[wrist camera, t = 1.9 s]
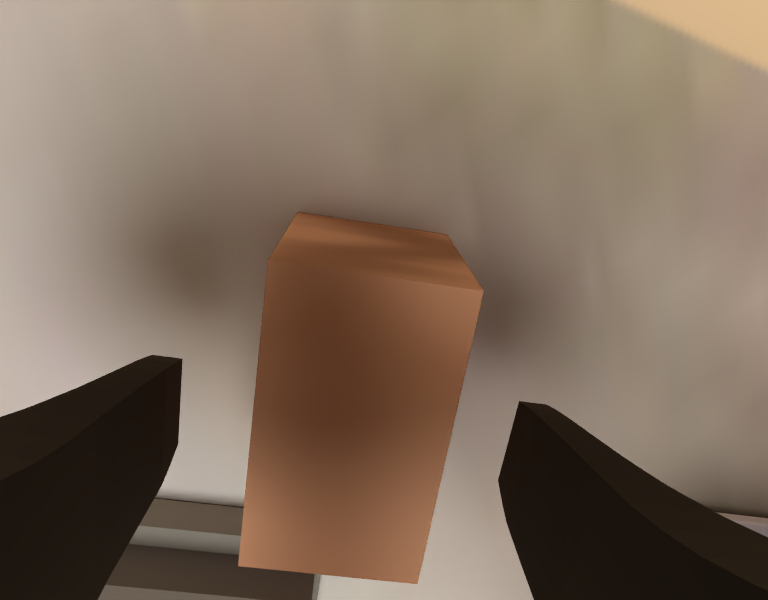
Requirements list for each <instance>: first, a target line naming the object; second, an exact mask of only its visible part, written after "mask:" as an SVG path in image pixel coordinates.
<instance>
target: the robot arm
mask: <svg viewBox="0 0 768 600" xmlns="http://www.w3.org/2000/svg"><path fill="white" fill-rule="evenodd" d="M181 375H182V359H180V358H172V357H164V356H156V355H151V356H148V357H145V358H142V359H140V360H138V361H135V362H133V363H131V364H129V365H126V366H124V367H122V368H120V369H118V370H115V371H113V372H111V373H109V374H107V375H105V376H102V377H100V378H98V379H96V380H94V381H91V382H89V383H87V384H85V385H83V386H80V387H78V388H76V389H73V390H71V391H68V392H66V393H63V394H61V395H58V396H56V397H53V398H51V399H49V400H46V401H44V402H41V403H39V404H36V405H34V406H31V407H28V408H26V409H23V410H20V411H17V412H14V413H11V414H8V415H5V416H2V417H0V600H98V598H99V596H100V594H101V592H102V590H103V589H104V587H105V585H106V583H107V581H108V579H109V577H110V575H111V573H112V572H113V570H114V568H115V567H116V565H117V563H118V561H119V560H120V558H121V556H122V554H123V553H124V551H125V549H126V547H127V546H128V544H129V542H130V540H131V539H132V537H133V535H134V533H135V532H136V530H137V528H138V526H139V525H140V523H141V521H142V519H143V518H144V516H145V514H146V512H147V511H148V509H149V507H150V505H151V503H152V502H153V500H154V498H155V496H156V495H157V493H158V491H159V489H160V487H161V485H162V483H163V481H164V478H165V476H166V474H167V471H168V469H169V466H170V464H171V461H172V458H173V456H174V453H175V451H176V448H177V445H178V435H179V415H180V395H181ZM498 482H499V487H500V493H501V498H502V503H503V508H504V513H505V517H506V522H507V525H508V528H509V531H510V534H511V537H512V539H513V542H514V545H515V548H516V551H517V554H518V557H519V559H520V562H521V565H522V568H523V570H524V573H525V576H526V579H527V582H528V584H529V587H530V590H531V593H532V595H533V598H534V600H768V518H761V517H752V516H744V515H735V514H726V513H717V512H714V511H712V510H710V509H708V508H706V507H705V506H703V505H701V504H699V503H697V502H696V501H694V500H692V499H690V498H688V497H687V496H685V495H683V494H681V493H679V492H677V491H676V490H674V489H672V488H671V487H669V486H667V485H666V484H664V483H662V482H661V481H659V480H658V479H656V478H655V477H653V476H651V475H650V474H648V473H647V472H645V471H644V470H642V469H641V468H639V467H637V466H636V465H634V464H633V463H631V462H630V461H629V460H627V459H626V458H624V457H623V456H621V455H620V454H618V453H617V452H615V451H614V450H613V449H611V448H610V447H608V446H607V445H605V444H604V443H603V442H601V441H600V440H598V439H597V438H596V437H594V436H593V435H592V434H590V433H589V432H587V431H586V430H585V429H583V428H582V427H580V426H579V425H578V424H576V423H575V422H573V421H572V420H570V419H569V418H568V417H566V416H565V415H563V414H562V413H560V412H559V411H557V410H555V409H554V408H552V407H550V406H548V405H545V404H537V403H529V402H521V401H519V404H518V408H517V412H516V415H515V419H514V423H513V427H512V430H511V434H510V438H509V442H508V445H507V449H506V453H505V457H504V460H503V464H502V468H501V472H500V475H499V479H498Z"/></svg>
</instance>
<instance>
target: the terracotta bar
mask: <svg viewBox="0 0 768 600" xmlns="http://www.w3.org/2000/svg"><path fill="white" fill-rule="evenodd" d="M483 293H484V291H483V289H482V288H481V286H480V285H479V283H478V281H477V280H476V278H475V277H474V275H473V274H472V272H471V271H470V269H469V268H468V266H467V264H466V263H465V261H464V260H463V258H462V257H461V255H460V254H459V252H458V251H457V249H456V247H455V246H454V244H453V243H452V241H451V240H450V238H449V237H448V235H446V234H439V233H433V232H426V231H420V230H413V229H406V228H400V227H393V226H387V225H380V224H373V223H367V222H360V221H354V220H347V219H341V218H334V217H327V216H321V215H314V214H308V213H301V212H298V213H297V214H296V216H295V218H294V219H293V221H292V222H291V224H290V226H289V227H288V229H287V230H286V232H285V234H284V235H283V237H282V238H281V240H280V242H279V243H278V245H277V246H276V248H275V250H274V251H273V253H272V254H271V256H270V258H269V259H268V265H267V275H266V286H265V296H264V306H263V316H262V327H261V337H260V347H259V357H258V367H257V378H256V388H255V398H254V408H253V418H252V429H251V439H250V449H249V459H248V469H247V480H246V490H245V500H244V510H243V521H242V531H241V541H240V551H239V561H238V566H242V567H252V568H262V569H272V570H282V571H292V572H302V573H312V574H322V575H332V576H342V577H352V578H362V579H372V580H382V581H392V582H402V583H412V584H417V583H418V579H419V574H420V570H421V566H422V561H423V557H424V552H425V548H426V544H427V539H428V535H429V530H430V526H431V522H432V517H433V513H434V508H435V504H436V500H437V495H438V491H439V486H440V482H441V478H442V473H443V469H444V464H445V460H446V456H447V451H448V447H449V442H450V438H451V434H452V429H453V425H454V420H455V416H456V412H457V407H458V403H459V398H460V394H461V390H462V385H463V381H464V376H465V372H466V368H467V363H468V359H469V354H470V350H471V346H472V341H473V337H474V332H475V328H476V324H477V319H478V315H479V310H480V306H481V302H482V297H483Z"/></svg>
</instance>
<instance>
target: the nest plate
mask: <svg viewBox="0 0 768 600" xmlns="http://www.w3.org/2000/svg"><path fill="white" fill-rule="evenodd" d="M243 510H244V508H239V507H230V506H221V505H211V504H202V503H193V502H183V501H174V500H165V499H155V498H154V500H153V502H152V503H151V505H150V507H149V509H148V511H147V512H146V514H145V516H144V518H143V519H142V521H141V523H140V525H139V526H138V528H137V530H136V532H135V533H134V535H133V537H132V539H131V540H130V542H129V544H128V546H127V547H126V549H125V551H124V553H123V554H122V556H121V558H120V560H119V561H118V563H117V565H116V567H115V568H114V570H113V572H112V573H111V575H110V577H109V579H108V581H107V583H106V585H105V587H104V589H103V590H102V592H101V594H100V596H99V598H98V600H317V595H318V588H319V582H320V576H321V574H312V573H302V572H292V571H282V570H272V569H262V568H252V567H242V566H238V561H239V551H240V541H241V531H242V521H243Z"/></svg>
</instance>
